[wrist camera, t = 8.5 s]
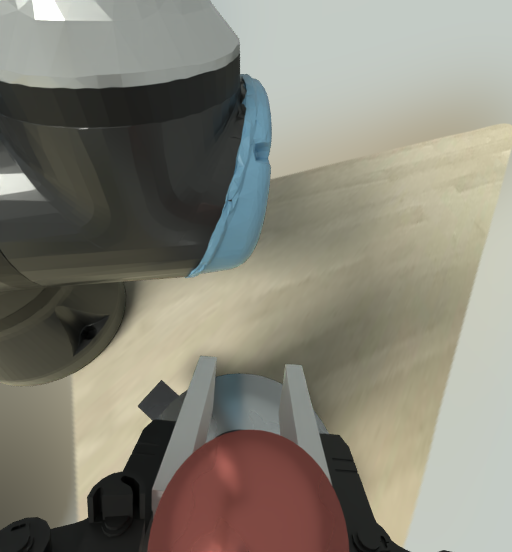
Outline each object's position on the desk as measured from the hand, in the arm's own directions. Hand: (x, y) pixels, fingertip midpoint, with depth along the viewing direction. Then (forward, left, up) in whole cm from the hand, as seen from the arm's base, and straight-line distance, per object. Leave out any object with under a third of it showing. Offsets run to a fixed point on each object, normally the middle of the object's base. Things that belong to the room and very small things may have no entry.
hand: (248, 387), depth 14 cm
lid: (+4, -1, -4) cm, 5 cm away
